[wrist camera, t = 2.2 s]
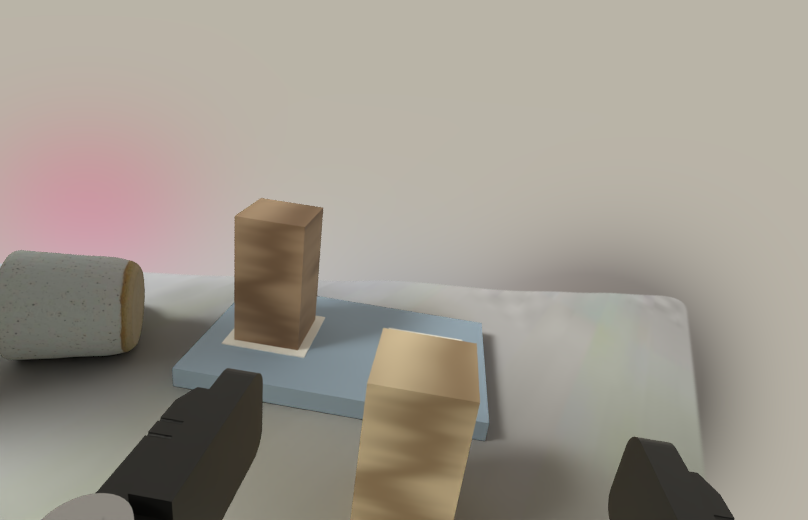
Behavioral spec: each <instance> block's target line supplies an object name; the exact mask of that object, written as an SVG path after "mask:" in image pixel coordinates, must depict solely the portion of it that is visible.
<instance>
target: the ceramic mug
mask: <svg viewBox="0 0 808 520" xmlns="http://www.w3.org/2000/svg"><path fill="white" fill-rule="evenodd" d="M144 299H145V288H144V277H143V272H142V269H141V267H140V266H139V265H138V264H137V263H135V262H133V261H129V260H126V259H121V258H116V257H104V256H84V255H72V254H60V253H48V252H35V251H24V250H20V251H15V252H13V253H11V254H10V255H9V256H8V257H7V258H6V260H5V261H4V262H3V264H2V266H1V268H0V354H1V356H2V357H4V358H5V359H8V360H25V359H47V358H65V357H77V356H109V355H114V354H120V353H125V352H128V351H130V350H131V349H133V348H134V347H135V346H136V345H137V343H138V341H139V338H140V334H141V329H142V323H143V315H144Z"/></svg>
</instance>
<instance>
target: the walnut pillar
mask: <svg viewBox="0 0 808 520" xmlns="http://www.w3.org/2000/svg"><path fill="white" fill-rule="evenodd" d="M322 217H323V208H321V207H315V206H309V205H302V204H296V203H288V202H282V201H276V200H270V199H264V198H261V199H259V200H258V201H256V202H255V203H253V204H252V205H250V206H249V207H247V208H246V209H244V210H243V211H241V212H240V213H238V214H237V215H236V216H235V290H234V340H240V341H245V342H251V343H257V344H263V345H269V346H275V347H281V348H286V349H292V350H298V349H299V347H300V346H301V344H302V342H303V340H304V339H305V337H306V335H307V333H308V332H309V330H310V328H311V326H312V324H313V323H314V321H315V316H316V302H317V288H318V274H319V258H320V246H321V231H322Z"/></svg>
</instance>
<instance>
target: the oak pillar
mask: <svg viewBox="0 0 808 520" xmlns="http://www.w3.org/2000/svg"><path fill="white" fill-rule="evenodd" d="M479 405H480V392H479V374H478V356H477V343H471V342H465V341H459V340H453V339H447V338H441V337H435V336H429V335H423V334H417V333H411V332H405V331H399V330H393V329H387V328H383V331H382V334H381V338H380V341H379V344H378V348H377V351H376V355H375V358H374V361H373V365H372V368H371V372H370V375H369V378H368V382H367V388H366V396H365V404H364V413H363V421H362V429H361V437H360V446H359V454H358V462H357V470H356V479H355V487H354V495H353V503H352V512H351V520H454V516H455V511H456V507H457V503H458V498H459V494H460V489H461V485H462V480H463V476H464V472H465V467H466V463H467V458H468V454H469V449H470V445H471V441H472V436H473V432H474V427H475V423H476V418H477V414H478V410H479Z"/></svg>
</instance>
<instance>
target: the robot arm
mask: <svg viewBox="0 0 808 520" xmlns="http://www.w3.org/2000/svg"><path fill="white" fill-rule="evenodd" d="M262 402H263V378H262V375H261V374H260V373H255V372H249V371H243V370H237V369H231V368H226V369H225V370H224V371H223V372H222V373H221V375H220V376H219V377H218V378H217V380H216V381H215V382H214V384H213V385H212V386H211V387H210V389H206V388H201V387H196V388H195V389H193V390H191V391H190V392H188V393H187V394H185V395H183V396H182V397H180V398H178V399H177V400H175V401H174V402H173V404H172V405H171V406H170V407H169V408H168V409H167V411H166V412H165V413H164V414H163V415H162V417H161V419H160V421H157V422H156V424H155V425H154V426H153V427H152V428H151V429H150V431H149V432H148V435H147V436H146V435H145V436H144V438H143V439H142V440H141V441H140V442H139V443H138V445H137V446H136V447H135V448H134V449H133V450H132V452H131V453H130V454H129V455H128V456H127V457H126V459H125V460H124V461H123V462H122V463H121V464H120V466H119V467H118V468H117V469H116V470H115V471H114V473H113V474H112V475H111V476H110V477H109V478H108V480H107V481H106V482H105V483H104V484H103V485H102V487H101V488H100V489H99V490H98V491H97V492H96V493H95V494H89V495H85V496H81V497H78V498H75V499H72V500H70V501H68V502H66V503H64V504H62V505H60V506H59V507H57V508H55V509H54V510H53V511H51V512H50V513H48V514H47V515H46V516H45V517H44V518H43V519H42V520H222V519H223V517H224V515H225V513H226V511H227V509H228V507H229V506H230V504H231V502H232V500H233V498H234V496H235V494H236V492H237V490H238V489H239V487H240V485H241V483H242V481H243V479H244V477H245V475H246V473H247V471H248V470H249V468H250V466H251V464H252V462H253V460H254V458H255V456H256V453H257V450H258V447H259V443H260V439H261V433H262ZM608 511H609V519H610V520H734V517H733V515H732V514H731V512H730V510H729V509H728V507H727V505H726V504H725V502H724V501H723V499H722V497H721V495H720V494H719V493H718V492H717V491H716V490H715V489H714V488H713V487H712V486H711V485H710V484H709V483H708V482H706V481H705V480H704V479H703V478H702V477H701V476H700V475H699V474H698V473H695V472H689V471H688V469H687V467H686V465H685V464H684V462H683V460H682V458H681V457H680V455H679V453H678V451H677V449H676V448H675V446H674V445H673V444H671V443H668V442H662V441H656V440H650V439H644V438H638V437H632V438H631V439H630V440H629V441H628V443H627V445H626V448H625V451H624V453H623V456H622V459H621V462H620V465H619V467H618V470H617V473H616V476H615V479H614V481H613V484H612V487H611V490H610V494H609V502H608Z"/></svg>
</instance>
